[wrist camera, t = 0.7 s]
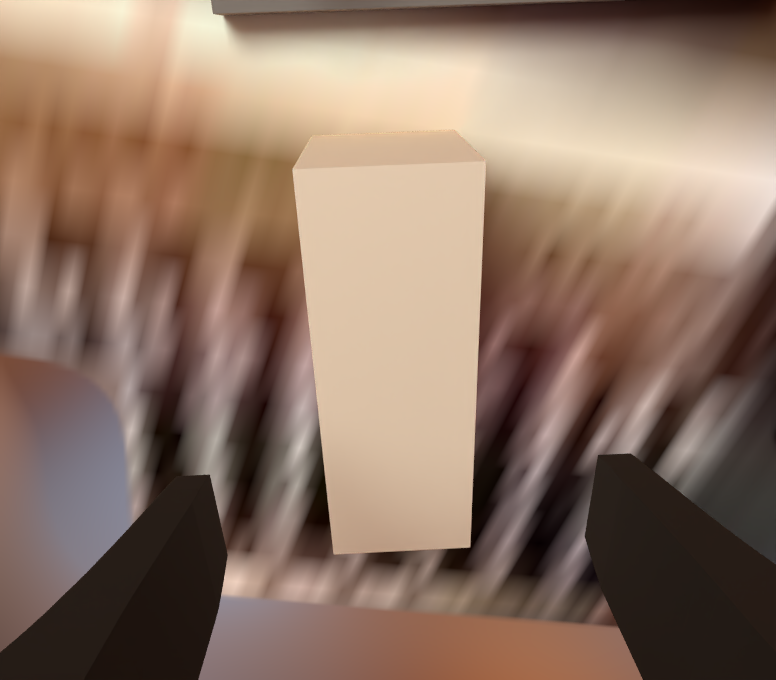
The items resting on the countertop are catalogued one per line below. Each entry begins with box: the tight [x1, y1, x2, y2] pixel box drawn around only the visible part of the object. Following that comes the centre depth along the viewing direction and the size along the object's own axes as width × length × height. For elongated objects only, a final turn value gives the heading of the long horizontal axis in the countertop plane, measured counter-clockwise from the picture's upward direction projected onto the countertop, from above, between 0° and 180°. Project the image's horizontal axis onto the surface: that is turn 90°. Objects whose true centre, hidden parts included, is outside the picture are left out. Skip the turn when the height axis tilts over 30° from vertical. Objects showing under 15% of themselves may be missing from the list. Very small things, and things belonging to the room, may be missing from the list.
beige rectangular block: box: [292, 130, 486, 554], centre depth 17 cm, size 11×4×5 cm, turn 2°
